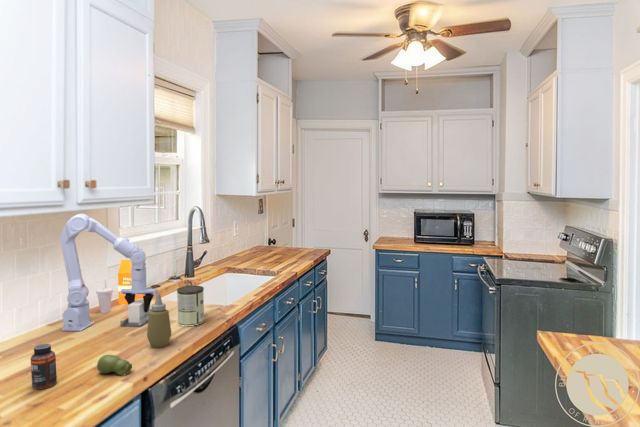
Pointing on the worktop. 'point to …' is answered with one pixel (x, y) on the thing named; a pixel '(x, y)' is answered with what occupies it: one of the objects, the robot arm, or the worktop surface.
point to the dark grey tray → (126, 323)
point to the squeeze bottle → (158, 324)
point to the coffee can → (190, 305)
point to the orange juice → (125, 280)
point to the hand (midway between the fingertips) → (139, 311)
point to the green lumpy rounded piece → (113, 365)
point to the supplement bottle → (43, 367)
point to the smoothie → (104, 299)
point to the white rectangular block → (136, 311)
